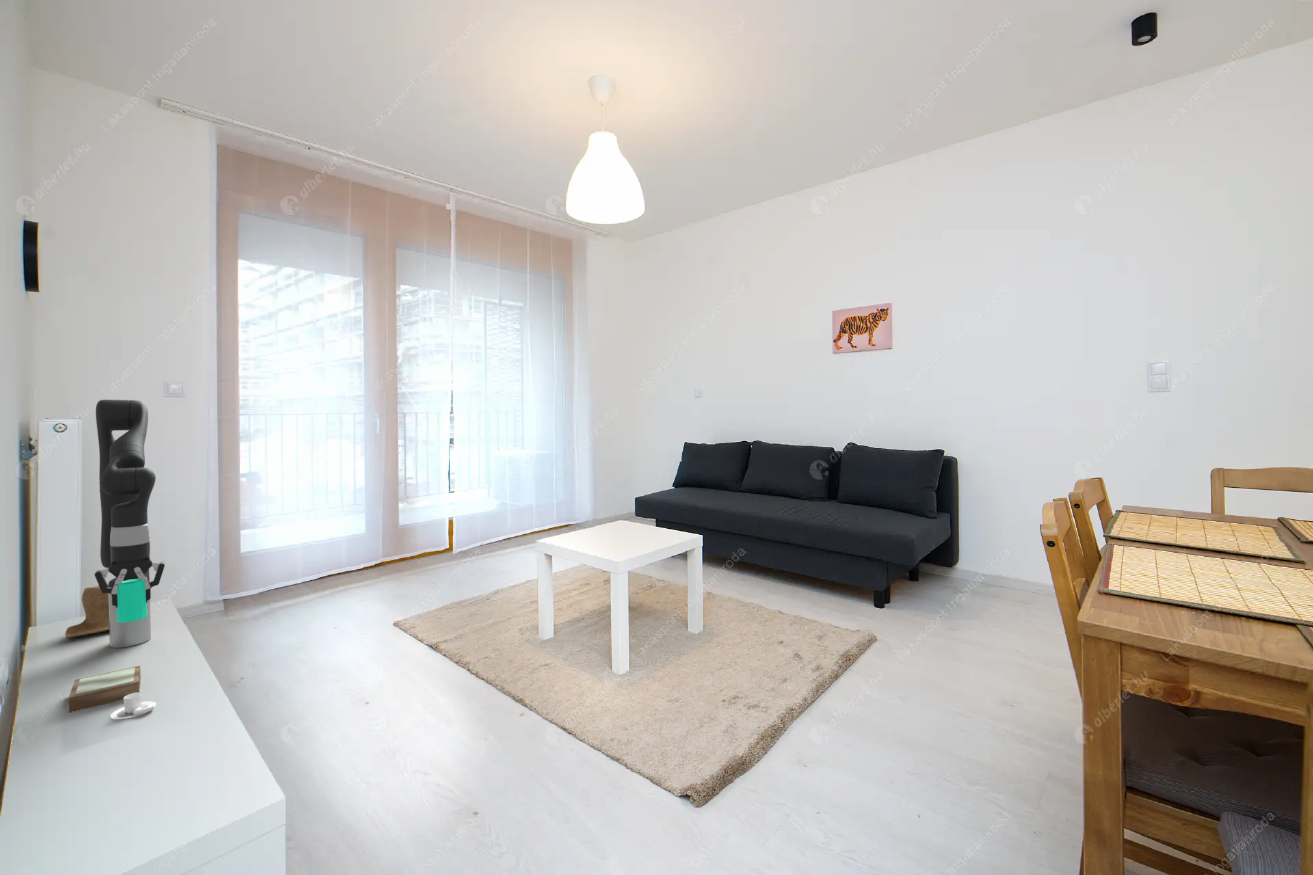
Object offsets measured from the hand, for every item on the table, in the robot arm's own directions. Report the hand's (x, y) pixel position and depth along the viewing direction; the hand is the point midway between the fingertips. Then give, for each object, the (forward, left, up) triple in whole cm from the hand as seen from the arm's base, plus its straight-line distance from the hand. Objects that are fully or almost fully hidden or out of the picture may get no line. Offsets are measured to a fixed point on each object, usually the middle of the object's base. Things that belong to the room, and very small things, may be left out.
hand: (131, 604), depth 146 cm
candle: (0, 0, -4) cm, 4 cm away
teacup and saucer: (+27, -1, -20) cm, 34 cm away
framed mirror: (+10, -5, -19) cm, 22 cm away
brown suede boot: (-49, -10, -20) cm, 54 cm away
